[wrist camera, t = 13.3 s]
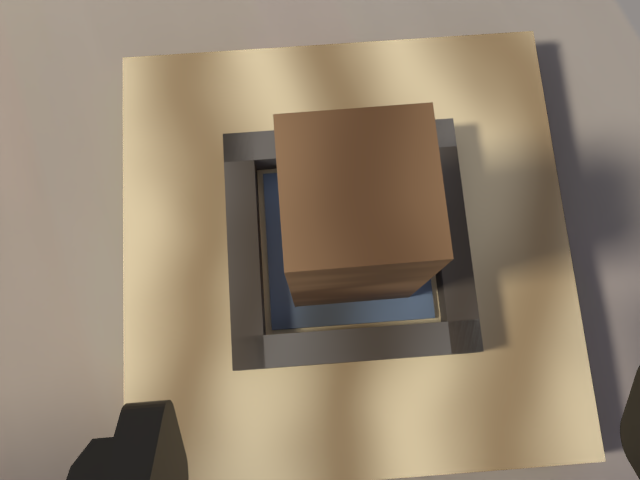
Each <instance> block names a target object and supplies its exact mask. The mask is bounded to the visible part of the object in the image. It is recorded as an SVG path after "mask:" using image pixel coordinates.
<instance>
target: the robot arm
mask: <svg viewBox="0 0 640 480" xmlns="http://www.w3.org/2000/svg"><path fill="white" fill-rule="evenodd" d="M620 436H621V442H622V446H623V449H624V452H625V454H626V457H627V459H628V460H629V462H630V464H631V466H632V467H633V469H634V471H635V472H636V474H637V476H638V478H639V479H640V366H639V368H638V370H637V372H636V376H635V379H634V382H633V385H632V388H631V391H630V394H629V398H628V401H627V404H626V407H625V410H624V413H623V416H622V420H621V424H620ZM66 480H189V474H188V462H187V456H186V452H185V448H184V444H183V440H182V436H181V432H180V428H179V425H178V421H177V417H176V413H175V409H174V405H173V403H172V401H171V400H160V401H148V402H135V403H126V404H125V405H124V406H123V408H122V410H121V413H120V416H119V420H118V423H117V427H116V430H115V434H114V437H109V438H97V439H92V440H91V441H90V443H89V444H88V445H87V447H86V448H85V449H84V450H83V452H82V453H81V454H80V456H79V457H78V458H77V459H76V461H75V462H74V463H73V465H72V466H71V467H70V470H69V473H68V476H67V479H66Z"/></svg>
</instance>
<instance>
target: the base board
mask: <svg viewBox="0 0 640 480" xmlns="http://www.w3.org/2000/svg"><path fill="white" fill-rule="evenodd" d="M430 102H433V108H434V115H435V123H436V130H437V138H438V145H439V153H440V160H441V168H442V175H443V183H444V190H445V198H446V205H447V213H448V220H449V228H450V235H451V243H452V250H453V258H454V259H453V260H452V261H451V262H450V263H448V264H447V265H446V266H445V267H444V268H443V269H441V270H440V271H439V272H438V273H437V274H436V275H434V276H433V277H432V278H431V279H430V280H429V281H427V282H426V283H425V284H424V285H423V286H422V287H421V288H419V289H418V290H417V291H416V292H415V293H414V294H412V295H411V296H410V297H408V298H396V299H384V300H372V301H359V302H347V303H335V304H323V305H311V306H298V307H295V305H294V302H293V299H292V296H291V293H290V289H289V286H288V283H287V280H286V277H285V274H284V263H283V249H282V235H281V220H280V206H279V192H278V178H277V164H276V149H275V135H274V121H273V114H282V113H296V112H309V111H322V110H336V109H349V108H363V107H376V106H389V105H403V104H416V103H430ZM123 322H124V405H125V404H126V403H135V402H148V401H160V400H171V401H172V403H173V405H174V409H175V413H176V417H177V421H178V425H179V428H180V432H181V436H182V440H183V444H184V448H185V452H186V456H187V462H188V474H189V480H382V479H394V478H407V477H419V476H432V475H445V474H457V473H470V472H482V471H495V470H507V469H520V468H532V467H545V466H557V465H570V464H582V463H595V462H606V461H605V455H604V449H603V443H602V437H601V431H600V425H599V419H598V413H597V407H596V401H595V395H594V389H593V383H592V377H591V372H590V366H589V360H588V354H587V348H586V342H585V336H584V330H583V324H582V318H581V312H580V306H579V300H578V294H577V288H576V283H575V277H574V271H573V265H572V259H571V253H570V247H569V241H568V235H567V229H566V223H565V217H564V211H563V205H562V199H561V193H560V188H559V182H558V176H557V170H556V164H555V158H554V152H553V146H552V140H551V134H550V128H549V122H548V116H547V110H546V104H545V99H544V93H543V87H542V81H541V75H540V69H539V63H538V57H537V51H536V45H535V39H534V33H533V31H528V32H512V33H497V34H481V35H466V36H450V37H435V38H419V39H404V40H388V41H373V42H358V43H342V44H327V45H311V46H296V47H280V48H265V49H249V50H234V51H219V52H203V53H188V54H172V55H157V56H141V57H126V58H123Z"/></svg>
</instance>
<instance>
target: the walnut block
mask: <svg viewBox="0 0 640 480" xmlns="http://www.w3.org/2000/svg"><path fill="white" fill-rule="evenodd" d="M273 121H274V135H275V149H276V164H277V178H278V192H279V206H280V220H281V235H282V249H283V263H284V274H285V277H286V280H287V283H288V286H289V289H290V293H291V296H292V299H293V302H294V305H295V307H298V306H311V305H323V304H335V303H347V302H359V301H372V300H384V299H396V298H408V297H410V296H411V295H412V294H414V293H415V292H416V291H417V290H418V289H419V288H421V287H422V286H423V285H424V284H425V283H426V282H427V281H429V280H430V279H431V278H432V277H433V276H434V275H436V274H437V273H438V272H439V271H440V270H441V269H443V268H444V267H445V266H446V265H447V264H448V263H450V262H451V261H452V260H453V259H454V258H453V250H452V243H451V235H450V228H449V220H448V213H447V205H446V198H445V190H444V183H443V175H442V168H441V160H440V153H439V145H438V138H437V130H436V123H435V115H434V108H433V102H430V103H416V104H403V105H389V106H376V107H363V108H349V109H336V110H322V111H309V112H296V113H282V114H273Z"/></svg>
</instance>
